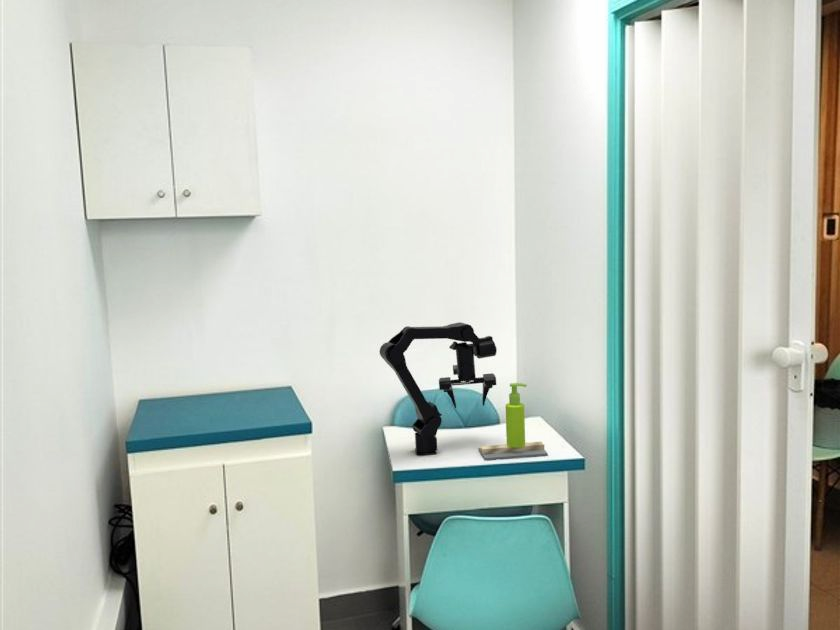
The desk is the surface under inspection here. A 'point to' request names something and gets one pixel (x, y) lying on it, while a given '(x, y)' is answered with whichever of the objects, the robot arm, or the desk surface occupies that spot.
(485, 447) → the ridge
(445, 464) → the desk surface
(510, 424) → the soap dispenser
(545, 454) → the base board
